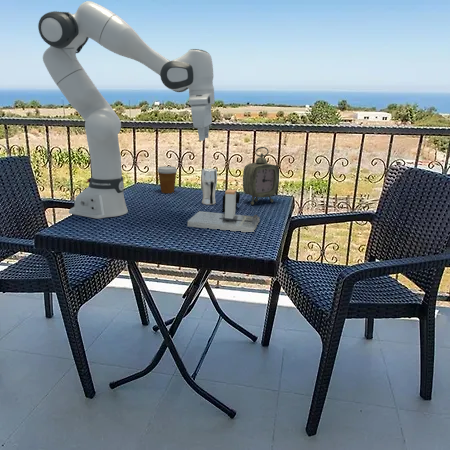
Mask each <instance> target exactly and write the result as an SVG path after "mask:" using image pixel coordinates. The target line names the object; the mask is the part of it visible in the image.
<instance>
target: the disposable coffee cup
mask: <svg viewBox="0 0 450 450" xmlns="http://www.w3.org/2000/svg"><path fill="white" fill-rule="evenodd" d="M156 171H157V173H158V179H159V185H160V187H159V188H160V192H161V193H162V194H173V193H175V188H176V187H175V186H176V180H177V179H176V177H177V172H178V170H177V167H175V166H167V165H166V166H158V168H157V170H156ZM172 192H173V193H172Z"/></svg>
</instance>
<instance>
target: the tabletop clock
mask: <svg viewBox="0 0 450 450" xmlns="http://www.w3.org/2000/svg"><path fill="white" fill-rule="evenodd" d="M260 149H265V150H266V152H267V153H265V154H263V153H260V154H258V153H257V152H258V150H260ZM254 152H255V153H254V154H255V155H256V156H257V158H256V160H255V162H250V163H247V164H246V165H245V166H244V168H243V173H242V190H243V192H244V194H246V195H249V196H251V199H252V200H251V201H250V205H251V206H253V205H254V204H255V202H256V203H257V202H258V200H259V198H267V197H268V198H269V201H270V203H273V202H274V199H273V198H271V197H273V196H274V195H275V196H276V194H277V192H278V188H279V183H280V170H279V166H278V165H276V164H272V163H268V161H267V159H266V158H265V157H266V156H268V154H269V148H267V147H266V146H260V147H257V148H256V149H255V151H254Z"/></svg>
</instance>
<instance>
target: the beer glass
mask: <svg viewBox="0 0 450 450" xmlns="http://www.w3.org/2000/svg"><path fill="white" fill-rule="evenodd" d="M200 177H201V178H200V181H201V183H200V184H201V190H202V200H201V204H203V205H206V206H211V205H215V204H216V203H217V202H216V189H217V185H218V170H217V169H216V168H202V169H201V176H200Z"/></svg>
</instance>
